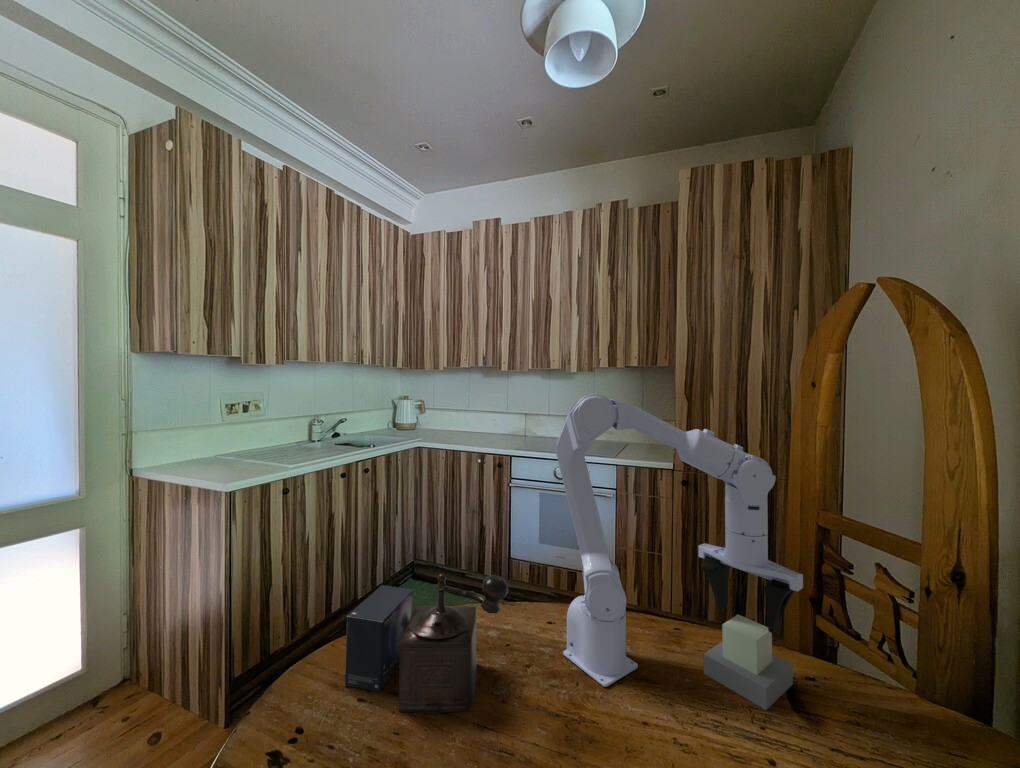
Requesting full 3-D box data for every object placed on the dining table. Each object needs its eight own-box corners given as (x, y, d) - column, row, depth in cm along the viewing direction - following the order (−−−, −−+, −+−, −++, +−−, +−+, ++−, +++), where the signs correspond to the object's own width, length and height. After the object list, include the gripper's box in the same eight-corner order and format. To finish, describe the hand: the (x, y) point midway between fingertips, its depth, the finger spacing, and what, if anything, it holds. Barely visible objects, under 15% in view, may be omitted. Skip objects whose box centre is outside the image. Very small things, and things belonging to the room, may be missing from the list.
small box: (382, 693, 59) (383, 621, 59) (342, 687, 60) (343, 616, 60) (413, 649, 69) (414, 587, 69) (379, 644, 70) (380, 583, 71)
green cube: (722, 656, 63) (722, 624, 63) (738, 645, 66) (737, 614, 66) (757, 675, 59) (756, 640, 59) (772, 662, 61) (771, 629, 62)
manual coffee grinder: (394, 716, 55) (395, 583, 55) (413, 662, 66) (415, 551, 66) (508, 717, 55) (508, 583, 55) (508, 662, 66) (508, 551, 66)
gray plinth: (703, 673, 63) (703, 654, 63) (732, 652, 68) (732, 634, 68) (766, 710, 56) (765, 688, 56) (793, 683, 61) (792, 663, 61)
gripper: (811, 539, 59) (812, 632, 59) (713, 514, 71) (714, 592, 71) (790, 549, 55) (792, 650, 55) (691, 521, 67) (691, 603, 67)
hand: (746, 618), depth 62 cm, fingers open, 7 cm apart
